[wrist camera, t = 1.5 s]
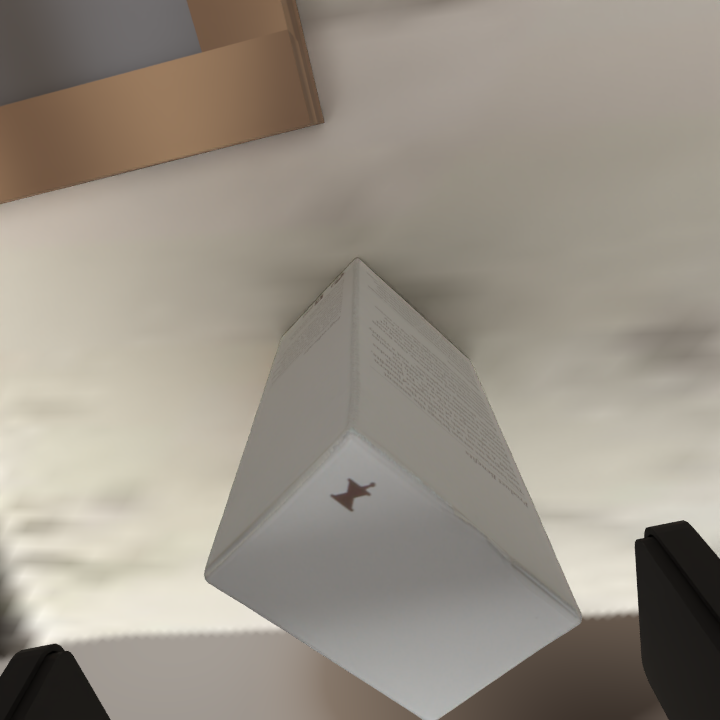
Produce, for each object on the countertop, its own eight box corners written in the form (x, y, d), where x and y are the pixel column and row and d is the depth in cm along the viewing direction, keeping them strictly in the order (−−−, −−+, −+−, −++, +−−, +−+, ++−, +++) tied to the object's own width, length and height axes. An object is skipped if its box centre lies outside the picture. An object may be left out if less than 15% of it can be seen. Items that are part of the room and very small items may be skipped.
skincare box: (277, 338, 21) (187, 578, 10) (357, 253, 20) (351, 420, 9) (396, 436, 23) (430, 736, 12) (477, 363, 22) (597, 620, 11)
